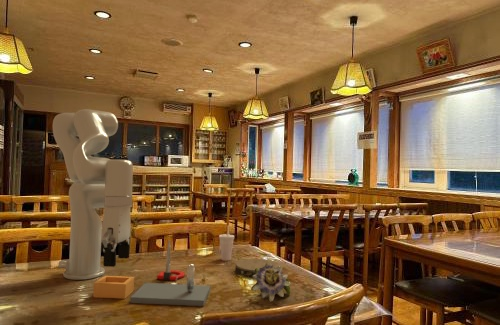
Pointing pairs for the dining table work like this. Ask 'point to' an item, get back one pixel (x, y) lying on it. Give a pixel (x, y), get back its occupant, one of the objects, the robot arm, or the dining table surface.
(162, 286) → the board
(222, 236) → the smoothie
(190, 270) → the post
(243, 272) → the wood slice
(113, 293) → the wooden masu cup
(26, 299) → the dining table surface
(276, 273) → the passion flower
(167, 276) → the tow hook
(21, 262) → the dining table surface
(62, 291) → the dining table surface
